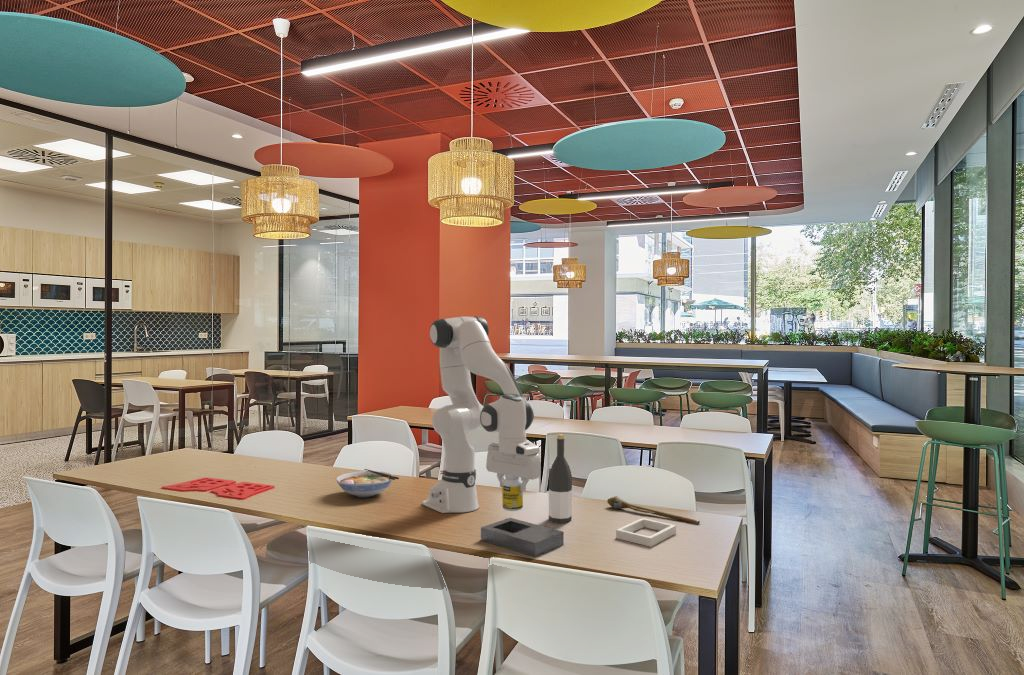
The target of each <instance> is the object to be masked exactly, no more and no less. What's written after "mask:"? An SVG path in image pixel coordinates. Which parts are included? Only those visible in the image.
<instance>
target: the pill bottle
mask: <svg viewBox="0 0 1024 675" xmlns="http://www.w3.org/2000/svg"><path fill="white" fill-rule="evenodd" d="M504 477H505V478H504V481H503V482H502V488H501V489H502V490H501V491H502V496H501V497H502V509H503V510H505V511H507V512H516V511H521V510H522V509H523V507H524V499H523V498H524V493H523V492H520V491H519V486H520V485H521V484H522V482H523V481H521V478H520V477H515V476H513V474H510V473H505V474H504Z"/></svg>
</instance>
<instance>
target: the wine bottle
mask: <svg viewBox="0 0 1024 675" xmlns="http://www.w3.org/2000/svg"><path fill="white" fill-rule="evenodd" d="M564 436H565V434H563V433H562V434H561V433H560V434H559V433H557V438H556V457H555V459H554V460H553V461H554V462H553V463H552V465H551V467H550V471H549V475H548V520H549V521H550V522H551V521H552V523H555V522H556V523H557V524H566V523H569V522H571V521H572V516H573V515H572V514H573V510H572V509H573V507H572V505H573V504H572V502H573V476H572V471H571V469H570V468H571V467H570V465H569V463H568V461H567V459H566V458H565V438H564Z"/></svg>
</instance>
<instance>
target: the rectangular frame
mask: <svg viewBox="0 0 1024 675" xmlns="http://www.w3.org/2000/svg"><path fill="white" fill-rule="evenodd" d="M643 528H646V529H650V530H655V531H658V532H655V533H654V534H652V535H650V536H649V535H644V534H641V533H636V531H638V530H641V529H643ZM676 534H677V525H675V524H673V523H672V524H671V523H667V522H663V521H662V522H661V521H658V520H653V519H650V518H649V519H648V518H644V517H642V518H639V519H637V520H634V521H632V522H630V523H628V524H625V525H624V526H621V527H620V528H617V529H615V539H618V540H623V541H627V542H630V543H634V544H637V545H642V546H646V547H650V548H652V547H653V546H655V545H657V544H659V543H661V542H663V541H664V540H666V539H668V538H670V537H672V536H674V535H676Z"/></svg>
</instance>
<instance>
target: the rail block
mask: <svg viewBox="0 0 1024 675" xmlns="http://www.w3.org/2000/svg"><path fill="white" fill-rule="evenodd" d="M564 535H565V532H564V531H562V530H558V529H554V528H551V527H547V526H543V525H539V524H535V523H531V522H528V521H524V520H520V519H517V518H512V517H507V518H505V519H502V520H499V521H496V522H493V523H489V524H487V525H484V526H481V527H480V541H483V542H486V543H489V544H493V545H497V546H498V547H502V548H506V549H509V550H510V551H511V550H512V551H515V552H518V553H521V554H524V553H525V555H528V554H529V555H528V556H531V555H532V557H534V556H535V557H538V556H540V554H541V555H543V554H545V553H547V551H548V552H550V551H552V550H554V549H553V548H555V549H557V548H559V547H561V546H560V545H562V546H564V540H565V539H564V538H565V537H564ZM558 546H559V547H558ZM556 547H557V548H556ZM551 549H552V550H551ZM549 550H550V551H549ZM544 552H545V553H544ZM542 553H543V554H542ZM535 557H534V558H535Z"/></svg>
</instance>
